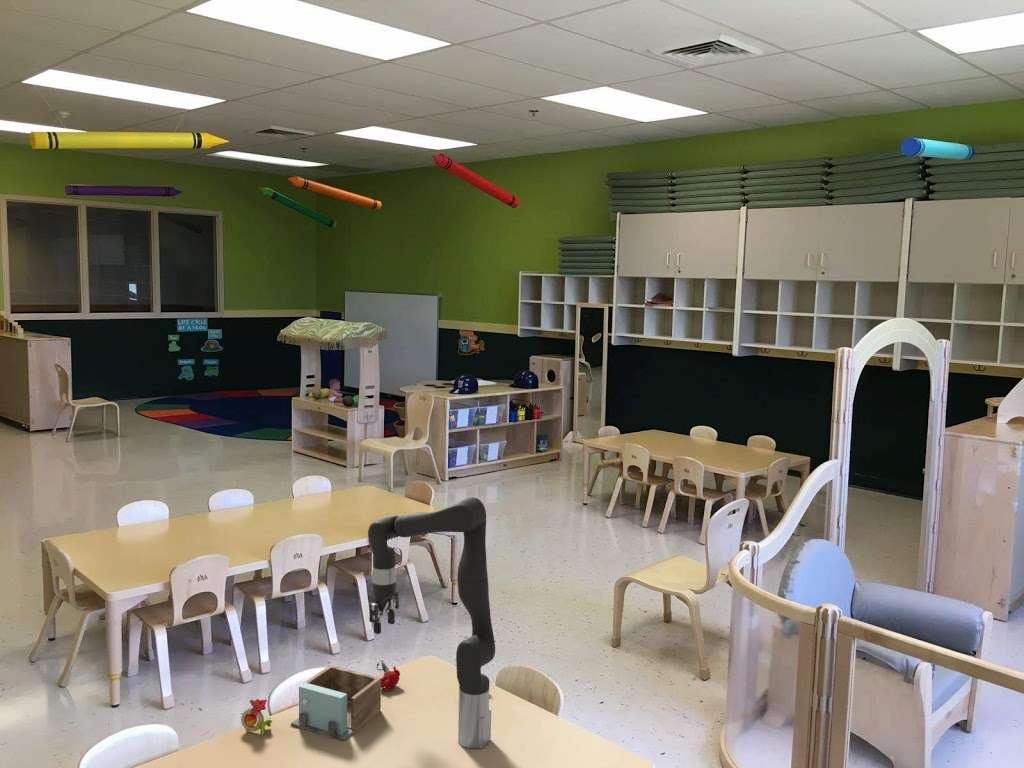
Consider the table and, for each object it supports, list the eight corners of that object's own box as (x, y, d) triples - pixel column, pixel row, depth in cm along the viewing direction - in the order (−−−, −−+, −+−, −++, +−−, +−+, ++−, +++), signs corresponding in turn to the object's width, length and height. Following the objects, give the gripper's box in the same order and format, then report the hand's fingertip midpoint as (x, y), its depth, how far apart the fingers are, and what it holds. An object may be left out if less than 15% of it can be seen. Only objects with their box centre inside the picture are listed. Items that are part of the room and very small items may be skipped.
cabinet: (380, 710, 280) (380, 678, 279) (343, 741, 261) (343, 706, 260) (329, 696, 288) (329, 665, 287) (290, 725, 270) (290, 692, 268)
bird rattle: (244, 744, 262) (271, 734, 261) (230, 711, 261) (256, 702, 260) (252, 733, 269) (278, 723, 268) (237, 701, 268) (263, 692, 267)
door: (346, 730, 266) (347, 693, 265) (338, 736, 262) (338, 699, 261) (305, 718, 273) (304, 682, 271) (296, 724, 269) (296, 688, 267)
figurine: (392, 669, 307) (405, 688, 294) (370, 678, 304) (382, 698, 291) (389, 653, 306) (402, 672, 293) (366, 662, 303) (378, 681, 289)
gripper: (382, 588, 266) (383, 638, 268) (405, 574, 279) (405, 622, 281) (361, 585, 269) (362, 634, 271) (385, 571, 282) (385, 618, 284)
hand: (384, 628), depth 276 cm, fingers open, 8 cm apart
